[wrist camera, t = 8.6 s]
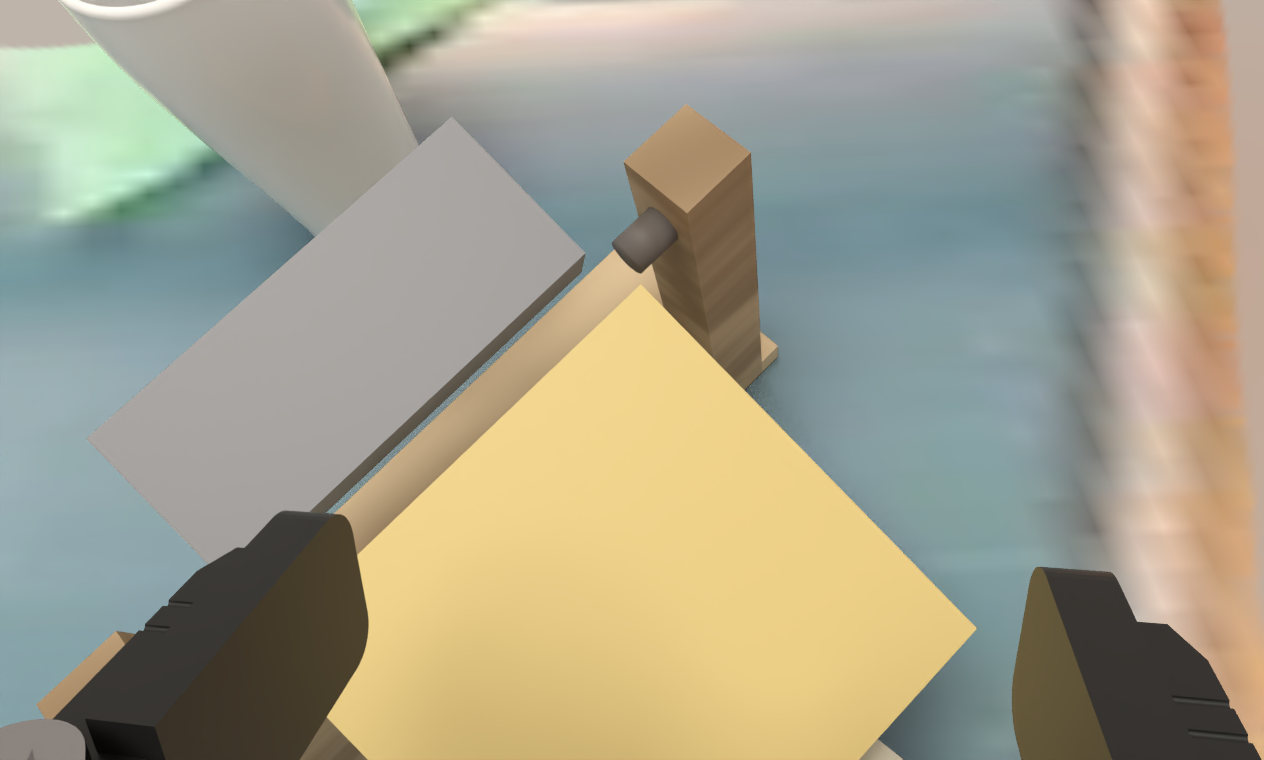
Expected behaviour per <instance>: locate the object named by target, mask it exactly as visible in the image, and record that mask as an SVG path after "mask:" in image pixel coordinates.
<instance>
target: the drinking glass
mask: <svg viewBox="0 0 1264 760" xmlns="http://www.w3.org/2000/svg"><path fill="white" fill-rule="evenodd" d="M58 1H59V2H60V3H61V4H62V6H64V8H65V9H66V10H67V11H68V12H69V14H70V15H71V16H72V17H73V18H74V19H75V20H76V21H77V23H78V24H79V25H80V26H81V27H82V28H83V29H84V30H85V31H86V32H87V34H88V35H89V36H90V37H91V38H92V39H93V40H94V41H95V42H96V44H97V45H98V46H99V47H100V48H101V49H102V50H103V51H104V52H105V53H106V54H107V55H108V56H109V57H110V58H111V59H112V60H113V61H114V62H115V63H116V64H117V66H118V67H119V68H120V69H121V70H122V71H123V72H124V73H125V74H126V75H127V76H129V77H130V78H131V79H132V80H133V81H134V82H135V83H136V84H137V85H138V86H139V87H140V88H141V89H142V90H143V91H144V92H145V93H146V94H147V95H148V96H150V97H151V98H152V99H153V100H154V101H155V102H156V103H157V104H159V105H160V106H161V107H162V108H163V109H164V110H165V111H167V112H168V113H169V114H170V115H171V116H173V117H174V118H175V119H176V120H177V121H178V122H180V123H181V124H182V125H183V126H184V127H186V128H187V129H188V130H189V131H190V132H192V133H193V134H194V135H195V136H197V137H198V138H199V139H200V140H201V141H203V142H204V143H205V144H206V145H207V146H209V147H210V148H211V149H212V150H213V151H215V152H216V153H217V154H218V155H220V156H221V157H222V158H223V159H224V160H226V161H227V162H228V163H229V164H230V165H232V166H233V167H234V168H235V169H236V170H238V171H239V172H240V173H241V174H242V175H244V176H245V177H246V178H247V179H249V180H250V181H251V182H252V183H253V184H255V185H256V186H257V187H258V188H259V189H260V190H262V191H263V192H264V193H265V194H266V195H268V196H269V197H270V198H271V199H272V200H274V201H275V202H276V203H277V204H278V205H279V206H281V207H282V208H283V209H284V210H285V211H287V212H288V213H289V214H290V215H291V216H292V217H294V218H295V219H296V220H297V221H298V222H299V223H301V224H302V225H303V226H304V227H305V228H306V229H307V230H308V231H309V232H310V233H311V234H312V235H313V236H314V237H316V236H317V235H318V234H319V233H320V232H321V231H323V230H324V229H325V228H326V227H327V226H328V225H329V224H331V223H332V222H333V221H334V220H335V219H336V218H337V217H338V216H340V215H341V214H342V213H343V212H344V211H345V210H346V209H348V208H349V207H350V206H351V205H352V204H353V203H354V202H355V201H357V200H358V199H359V198H360V197H361V196H362V195H363V194H365V193H366V192H367V191H368V190H369V189H370V188H371V187H372V186H374V185H375V184H376V183H377V182H378V181H379V180H380V179H382V178H383V177H384V176H385V175H386V174H387V173H388V172H390V171H391V170H392V169H393V168H394V167H395V166H396V165H397V164H399V163H400V162H401V161H402V160H403V159H404V158H405V157H407V156H408V155H409V154H410V153H411V152H412V151H413V150H414V149H416V148H417V147H418V146H419V144H418V142H417V140H416V138H415V136H414V134H413V131H412V129H411V127H410V125H409V123H408V121H407V119H406V117H405V114H404V112H403V110H402V108H401V106H400V104H399V101H398V99H397V97H396V95H395V93H394V91H393V88H392V86H391V84H390V82H389V80H388V78H387V75H386V73H385V71H384V69H383V67H382V64H381V62H380V60H379V58H378V56H377V53H376V51H375V49H374V47H373V45H372V42H371V40H370V38H369V36H368V33H367V31H366V29H365V27H364V25H363V22H362V20H361V18H360V16H359V14H358V11H357V9H356V7H355V5H354V3H353V1H352V0H58Z"/></svg>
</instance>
